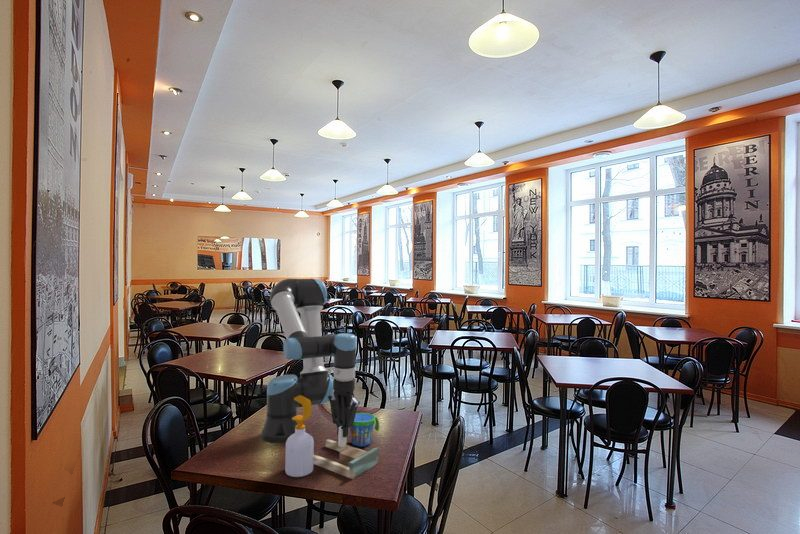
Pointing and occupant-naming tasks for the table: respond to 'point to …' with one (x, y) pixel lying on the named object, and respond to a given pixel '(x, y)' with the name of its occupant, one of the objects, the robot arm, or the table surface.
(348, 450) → the block
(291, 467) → the soap bottle
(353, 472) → the lane
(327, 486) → the table surface
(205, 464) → the table surface
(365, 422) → the snack cup
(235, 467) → the table surface
